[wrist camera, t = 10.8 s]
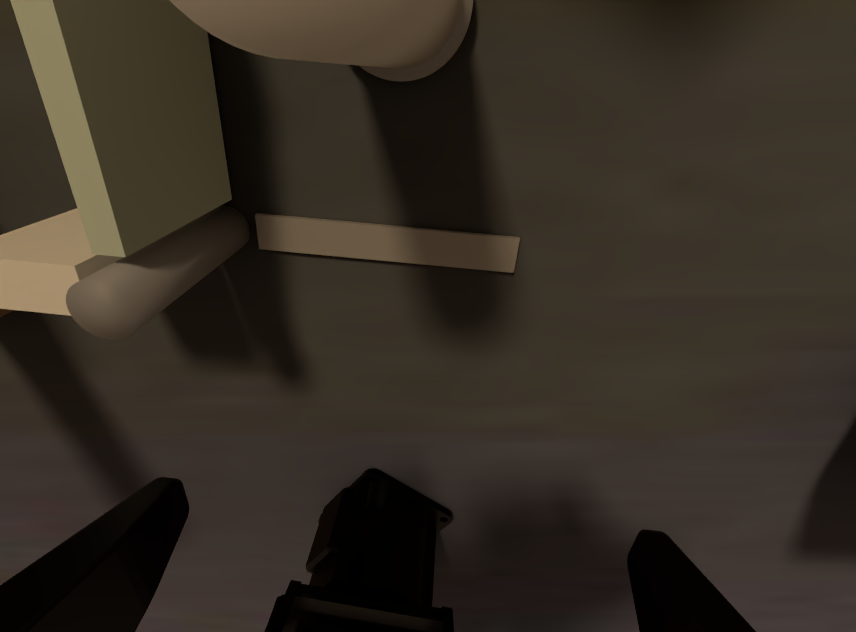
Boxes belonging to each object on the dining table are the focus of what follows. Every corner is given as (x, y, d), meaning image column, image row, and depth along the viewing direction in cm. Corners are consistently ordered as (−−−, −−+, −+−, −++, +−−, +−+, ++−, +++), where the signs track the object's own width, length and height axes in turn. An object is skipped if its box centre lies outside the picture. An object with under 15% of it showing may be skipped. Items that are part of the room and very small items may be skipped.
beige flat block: (231, 199, 19) (125, 257, 13) (177, 194, 19) (46, 250, 13) (179, -159, 13) (-46, -344, 7) (102, -164, 13) (-180, -351, 8)
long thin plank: (120, 238, 20) (-59, 323, 13) (107, 195, 19) (-92, 263, 12) (512, 274, 20) (539, 383, 13) (520, 232, 19) (553, 325, 12)
